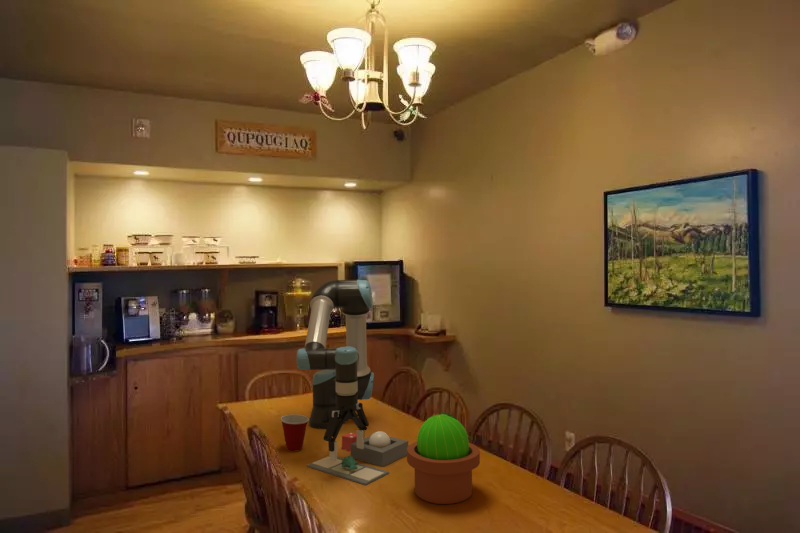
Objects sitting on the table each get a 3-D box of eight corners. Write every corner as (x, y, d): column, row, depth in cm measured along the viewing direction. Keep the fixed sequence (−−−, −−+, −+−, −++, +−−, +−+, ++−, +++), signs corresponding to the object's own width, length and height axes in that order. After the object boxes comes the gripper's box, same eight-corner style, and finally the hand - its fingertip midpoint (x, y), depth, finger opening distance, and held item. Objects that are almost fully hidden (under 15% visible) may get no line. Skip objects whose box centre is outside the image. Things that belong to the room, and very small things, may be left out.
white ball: (378, 448, 213) (378, 427, 213) (395, 452, 208) (394, 430, 208) (364, 454, 207) (364, 432, 206) (381, 458, 202) (381, 436, 202)
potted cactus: (430, 514, 160) (430, 427, 160) (395, 486, 180) (395, 408, 179) (493, 498, 171) (493, 416, 170) (453, 474, 190) (453, 400, 190)
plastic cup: (303, 454, 209) (303, 422, 209) (276, 452, 212) (275, 421, 211) (313, 445, 220) (313, 414, 220) (287, 443, 222) (287, 412, 222)
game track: (331, 456, 207) (331, 454, 207) (389, 473, 191) (389, 471, 191) (307, 466, 198) (306, 464, 198) (365, 485, 181) (365, 482, 181)
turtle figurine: (354, 463, 198) (354, 453, 198) (362, 471, 191) (361, 459, 191) (338, 466, 195) (338, 455, 195) (345, 474, 188) (345, 462, 188)
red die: (350, 445, 219) (350, 432, 219) (360, 447, 216) (360, 434, 216) (342, 448, 215) (341, 435, 215) (351, 451, 212) (351, 437, 212)
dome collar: (377, 446, 218) (376, 433, 218) (408, 454, 209) (408, 441, 209) (350, 457, 206) (350, 444, 206) (382, 466, 197) (382, 452, 197)
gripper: (362, 383, 206) (362, 441, 207) (312, 399, 186) (313, 462, 187) (378, 386, 201) (378, 445, 202) (328, 403, 181) (329, 468, 182)
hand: (347, 454), depth 194 cm, fingers open, 13 cm apart
